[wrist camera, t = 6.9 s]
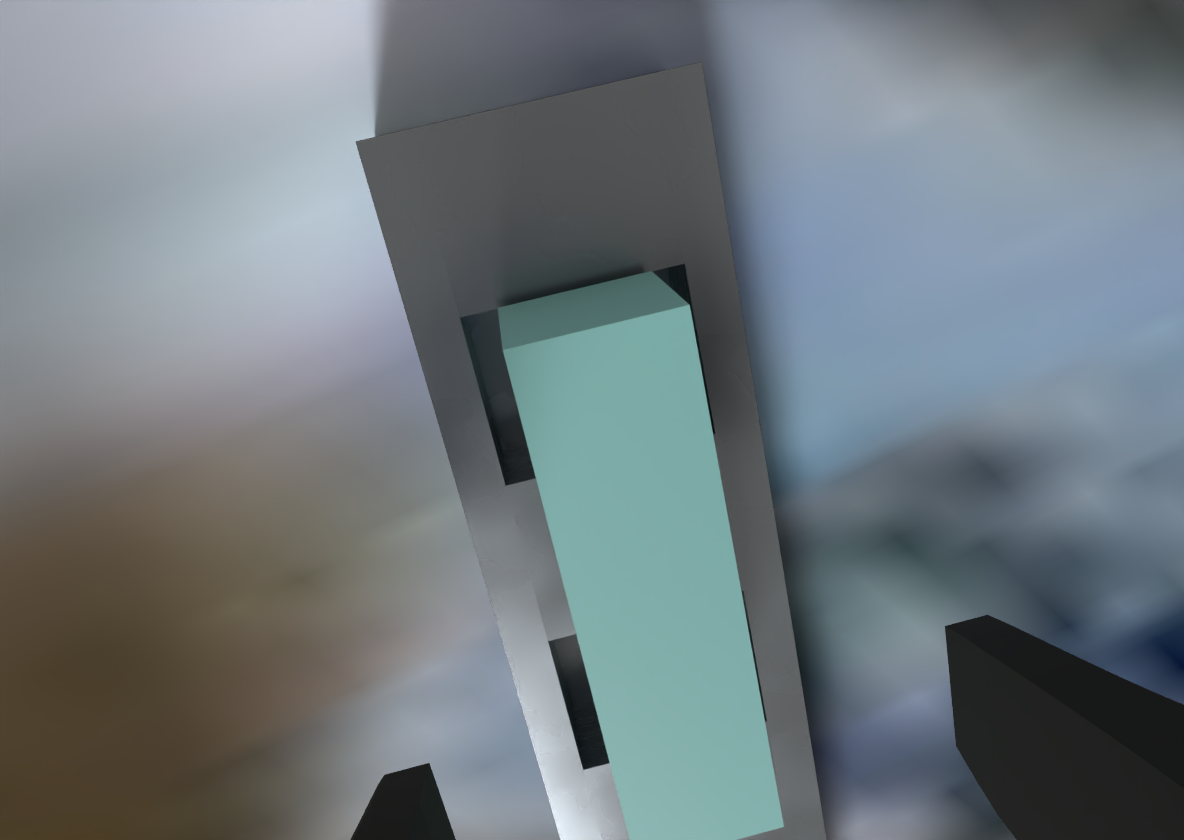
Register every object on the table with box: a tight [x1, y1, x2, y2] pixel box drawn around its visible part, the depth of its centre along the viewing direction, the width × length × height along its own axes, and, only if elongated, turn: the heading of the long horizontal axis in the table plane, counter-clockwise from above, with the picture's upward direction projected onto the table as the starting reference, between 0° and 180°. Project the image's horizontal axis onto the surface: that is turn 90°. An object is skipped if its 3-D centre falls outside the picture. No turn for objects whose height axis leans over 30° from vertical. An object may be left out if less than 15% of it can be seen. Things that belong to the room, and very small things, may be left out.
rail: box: [356, 62, 827, 840], centre depth 21 cm, size 24×6×3 cm, turn 12°
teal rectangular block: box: [498, 271, 784, 840], centre depth 17 cm, size 10×3×5 cm, turn 12°
